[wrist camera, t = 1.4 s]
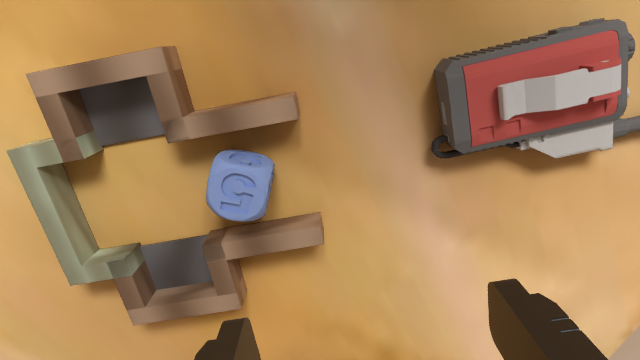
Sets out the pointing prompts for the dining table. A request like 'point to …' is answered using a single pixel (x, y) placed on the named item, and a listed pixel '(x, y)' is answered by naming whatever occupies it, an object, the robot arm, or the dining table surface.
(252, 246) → the trap channel
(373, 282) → the dining table surface
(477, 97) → the walkie-talkie
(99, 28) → the dining table surface
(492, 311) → the robot arm
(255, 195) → the decorative dice
